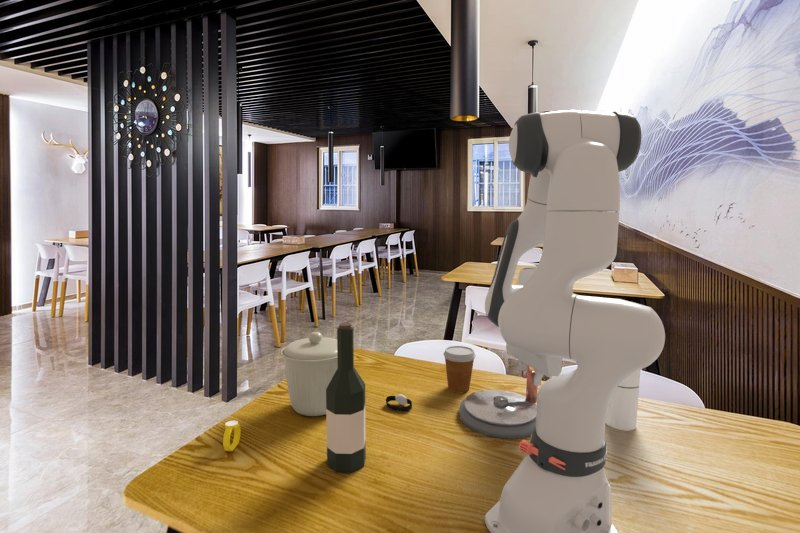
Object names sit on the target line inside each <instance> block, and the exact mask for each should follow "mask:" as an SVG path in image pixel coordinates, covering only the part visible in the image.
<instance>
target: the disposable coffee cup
mask: <svg viewBox="0 0 800 533" xmlns="http://www.w3.org/2000/svg"><path fill="white" fill-rule="evenodd" d="M443 356H444V361H445V372H446V380H447V381H446V382H447V388H448V390H449V391H450V392H453V393H458V394H459V393H467V392H468V391H470V386H471V379H472V374H473V367H474V360H475V358H476V353H475V349H473V348H472V347H469V346H463V345H451V346H448V347H446V348H445V349H444V352H443Z"/></svg>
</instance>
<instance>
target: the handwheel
mask: <svg viewBox="0 0 800 533" xmlns="http://www.w3.org/2000/svg"><path fill="white" fill-rule="evenodd" d="M535 374H536V373H535V372H534V369H533V368H532V369H528V370H527V378H526V384H525V385H526V387H525V388H526V389H525V390H526V391H525V395H522V394H519V393H517V392H514V391H509V390H500V389H483V390H478V391H475V392H473V393H470V394H469V395H467V396H466V397H465V398H464V399H465V410H466V412H467V413H468V414H469V415H470V416H472V417H473V418H475V419H477V420H479V421H481V422H484V423H488V424H492V425H497V426H508V427H512V426H522V425H526V424H529V423H531V422H533V421H534V420H535V419H536V414H537V394H538V391H539V389H538V388H539V386H535V385H534V384H532V377H535Z"/></svg>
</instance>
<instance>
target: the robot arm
mask: <svg viewBox="0 0 800 533" xmlns="http://www.w3.org/2000/svg"><path fill="white" fill-rule="evenodd" d="M641 128H642V127H641V124H640V122H639V121H638V119H637V117H635V115H633V114H630V113H625V112H620V111H613V112H605V111H603V112H602V111H592V110H591V111H589V110H582V111H581V110H576V109H570V110H566V109H565V110H557V111H549V112H543V113H542V112H541V113H540V112H539V111H537V112H530V113H527V114H523V115H520V116H519V117H518V119H517V120H516V121H515V123H514V126H513V128H512V130H511V132H510V136H509V140H508V151H509V155H510V156H509V157H510V158H511V162H512V165H513V166H515V168H516V169H518V170H519V171H521V172H524V173H527V174H530V177H529V184H528V189H527V190H528V191H527V196H526V197H527V198H526V204H525V206H524V208H523V210H522V212H521V213H520V215H519V216H518V217H517V218H516V219H514V220H512V221H510V223H509V225H508V227H507V229H506V231H505V234H504V238H503V241H502V243H501V248H500V250H499V255H498V258H497V262H496V266H495V270H494V273H493V277H492V279H491V280H492V281H491V283H490V285H489V288H488V292H487V293H486V296H485V299H484V311H485V315H486V318H487V319H488V320H489V321H490V322H491V323H492V324H494V325H495V326H496V327H498V329H499V330H498V331H499V332H500V336H501V337H502V338H503V341H504V342H505V344H506V345H505V349H506V353H507V354H508V355H510V356H512V357H513V358H515V359H517V363H518V367H519V370H520V373H519V375H520V377H522V379H527V370H529V369H528V366H529V367H530V368H532V369H533V370H534V372H535V373H536V374H535V377H532V384H534V385H535V386H538V388H539V389H538V391H537V402H536V405H537V414H536V426H535V428H534V430H533V433H532V435H531V436H530V441H528V440H526V439H522V440H521V441H519V442H520V443H519V445H518V448H519V450H520V452H523V453H525V454H526V455H525V457H524V458H523V459H522V461H521V462H520V463H519V464H518V465H517V468H516V469H515V471H514V472H513V473H512V474H511V476H510V477H509V479H508V480H507V482H506V483H505V485H504V486H503V488H502V490H501V495H500V499H499V500H498V501H497V502H496V503H495V504H494V505H493V506H492V507H491V508H490V509H489V510H488V511H487V512H486V513H485V515H484V524H485V525H486V527H487V530H488V531H489V533H619V532H618V530H617V529H616V526H614V524H613V517H612V516H613V515H612V513H613V512H612V511H613V509H612V508H613V504H612V487H611V484H610V481H609V479H608V478H607V475H606V472H605V468H604V467H605V465H606V462H607V461H606V459H607V455H608V454H607V453H608V449H607V441H606V439H605V430H606V416H607V410H608V405H609V402H610V399H611V397H612V395H613V393H614V391H615V390H616V388H617V387H618V386H619V384H620V383H621V382H622V381H623V380H625V379H626V378H627V377H628V376H630V375H631V374H633V373H634V372H636V371H638V370H640V369H641V370H643V369H645V368H647V367H649V366H650V365H652V364H653V363H654V362H655V361H656V360H658V358H659V357H660V355H661V353H662V351H663V350H664V346H665V341H666V332H665V331H666V330H665V327H664V324H663V321H662V319H661V318H660V316H659V315H658V313H657V312H656V311H655V310H654V309H653V308H652V307H651V306H647V305H644V304H641V303H637V302H634V301H629V300H625V299H622V298H613V297H612V298H611V297H603V296H601V297H600V296H593V295H592V296H590V295H580V294H577V293H574V291H573V288H574V284H575V283H576V282H577V281H580V280H581V279H583V278H586V277H590V276H591V275H594V274H597V273H599V272H601V271H603V270H605V269H607V268H608V267H609V266H610V265H612V263H613V262H614V260H615V259H616V257H617V252H618V240H619V239H618V237H619V223H620V222H619V221H620V207H621V206H620V204H621V187H620V186H621V185H620V174H619V173H620V172H623V171H626V170H628V169H629V167H631V165H633V164H634V163H635V162H636V160H637V158H638V156H639V153H640V150H641V145H642V129H641ZM539 246H542V252H541V256H540V259H539V262H538V265H537V267H524V268H522V269H520V270H519V272H518V277H517V283H516V284H512V283H513V280H514V276H515V274H516V270H517V267H518V264H519V260H520V258H521V257H522V256H523V255H524V254H526V253H527V252H529V251H530V250H532V249H534V248H537V247H539ZM564 359H565V360H569V361H570V360H571V361H573V362H575V363H576V364H577V367H576V368H575V369H574V370H572V371H570V372H567V373H563V374H561V373H562V369H563V360H564ZM641 370H640V371H641ZM544 376H545V377H547V378H549V379H547V380H545V381H544V382H543V383H542V379H543V378H544Z"/></svg>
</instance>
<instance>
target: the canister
mask: <svg viewBox="0 0 800 533" xmlns="http://www.w3.org/2000/svg"><path fill="white" fill-rule="evenodd" d="M280 355H281V357H282V358H283V364H284V370H285V372H284V373H285V377H286V379H285V380H286V384H287V390H288V396H289V401H290V402H289V403H290V404H291V407H292V409H293V410H294V411H295V412H296V413H297V414H299V415H302V416H305V417H319V416H324V415H325V416H326V389H327V387H328V385H329V383H330V381H331V379H332V377H333V376H334V374H335V372H336V370H337V369H338V360H337V338H334V337H327V336H325V337H324V336H323V335H322V333H321V332H319V331H313V332H311V333H310V334H309V335H308V337H305V338H301V339H297V340H294V341H292V342H290V343H288V344H287V345H285V346H283V348H282V349H281V350H280Z"/></svg>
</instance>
